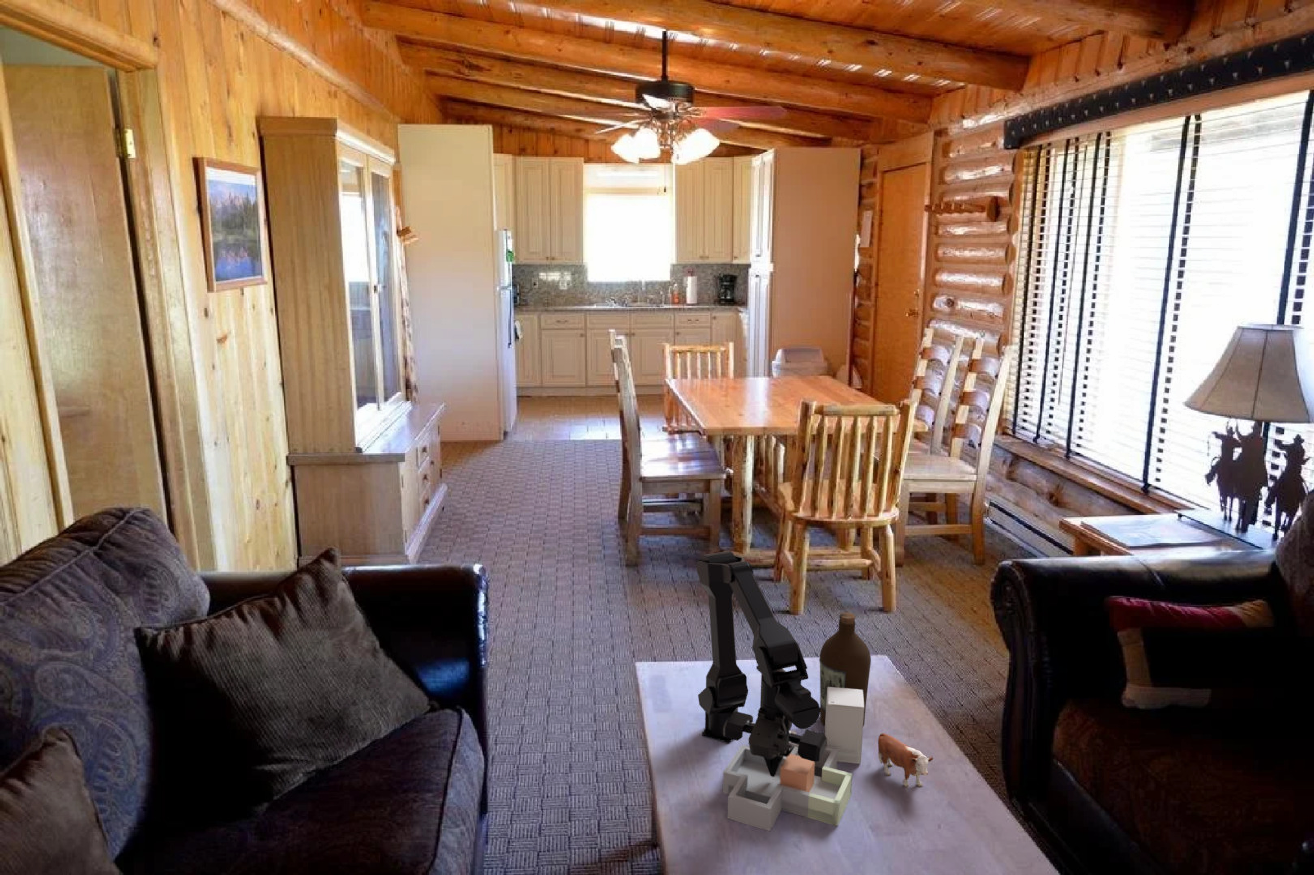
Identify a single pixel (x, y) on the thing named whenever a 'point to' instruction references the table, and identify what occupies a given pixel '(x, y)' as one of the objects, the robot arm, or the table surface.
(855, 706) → the supplement box
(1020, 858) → the table surface
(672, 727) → the table surface
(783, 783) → the block
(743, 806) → the trap lane
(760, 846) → the table surface
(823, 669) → the olive oil
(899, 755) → the bull figurine
